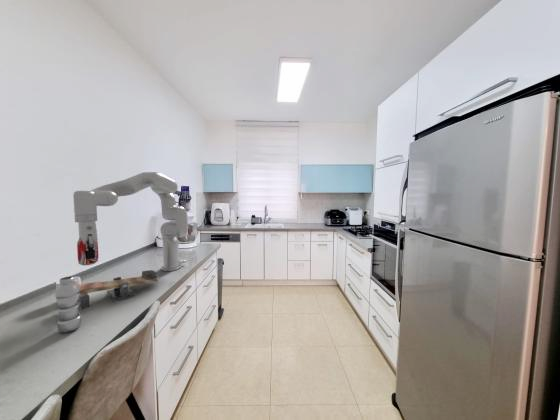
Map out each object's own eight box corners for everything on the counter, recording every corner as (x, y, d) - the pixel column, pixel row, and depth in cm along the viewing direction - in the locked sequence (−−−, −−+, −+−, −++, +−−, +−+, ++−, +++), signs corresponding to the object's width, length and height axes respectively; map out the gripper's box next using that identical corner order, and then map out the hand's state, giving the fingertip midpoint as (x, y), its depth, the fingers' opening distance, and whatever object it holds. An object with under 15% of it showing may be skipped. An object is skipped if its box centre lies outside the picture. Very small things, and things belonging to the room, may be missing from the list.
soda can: (86, 266, 95) (85, 240, 94) (73, 265, 96) (72, 238, 95) (102, 261, 101) (101, 236, 100) (90, 260, 103) (89, 235, 102)
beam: (151, 277, 123) (152, 269, 123) (157, 281, 118) (158, 272, 118) (73, 289, 98) (75, 279, 98) (77, 294, 93) (78, 284, 93)
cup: (52, 306, 97) (50, 284, 97) (71, 293, 109) (70, 274, 108) (73, 304, 99) (72, 283, 98) (90, 292, 111) (89, 273, 110)
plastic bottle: (68, 324, 84) (64, 275, 82) (86, 324, 85) (83, 274, 83) (52, 335, 78) (48, 282, 76) (72, 334, 78) (68, 281, 77)
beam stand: (126, 288, 116) (125, 274, 115) (135, 295, 108) (134, 281, 107) (76, 302, 101) (75, 287, 100) (83, 312, 93) (81, 295, 92)
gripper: (102, 219, 95) (104, 259, 96) (92, 216, 105) (94, 252, 107) (78, 220, 89) (81, 263, 90) (71, 217, 99) (73, 255, 101)
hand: (88, 256), depth 98 cm, fingers closed on soda can, 6 cm apart
